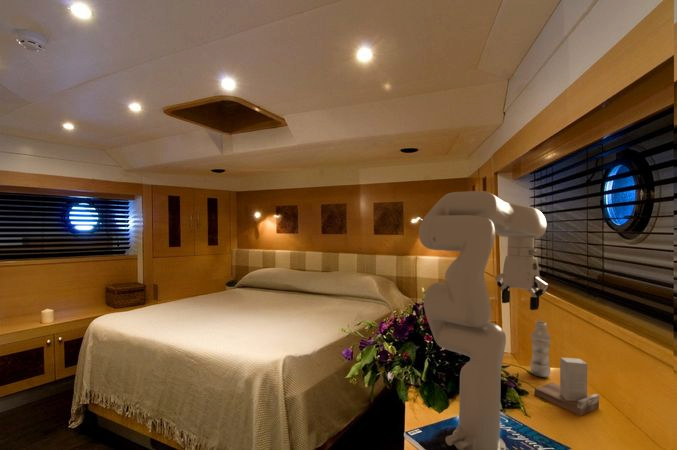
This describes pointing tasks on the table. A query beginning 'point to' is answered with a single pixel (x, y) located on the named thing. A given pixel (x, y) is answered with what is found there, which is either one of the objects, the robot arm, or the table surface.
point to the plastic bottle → (540, 350)
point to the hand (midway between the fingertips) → (519, 305)
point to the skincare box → (573, 379)
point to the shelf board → (578, 407)
